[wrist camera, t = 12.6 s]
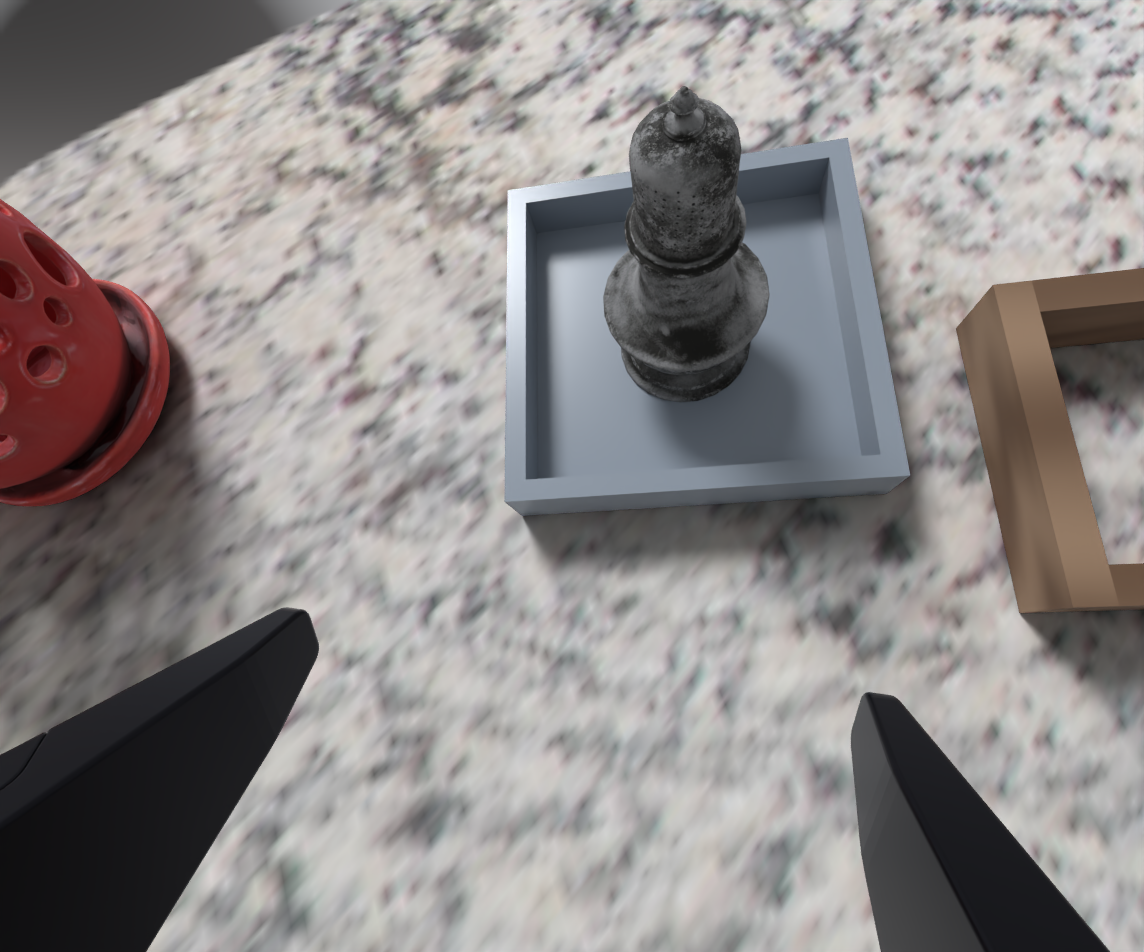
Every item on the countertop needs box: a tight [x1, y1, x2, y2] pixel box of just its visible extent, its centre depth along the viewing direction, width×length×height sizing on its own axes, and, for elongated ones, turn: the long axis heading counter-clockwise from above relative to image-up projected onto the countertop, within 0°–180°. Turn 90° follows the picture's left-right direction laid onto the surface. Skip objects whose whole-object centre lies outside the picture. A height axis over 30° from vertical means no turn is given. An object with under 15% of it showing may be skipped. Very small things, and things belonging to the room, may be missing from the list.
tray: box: [505, 138, 910, 516], centre depth 24 cm, size 14×14×2 cm
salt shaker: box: [603, 86, 770, 402], centre depth 19 cm, size 6×6×12 cm
